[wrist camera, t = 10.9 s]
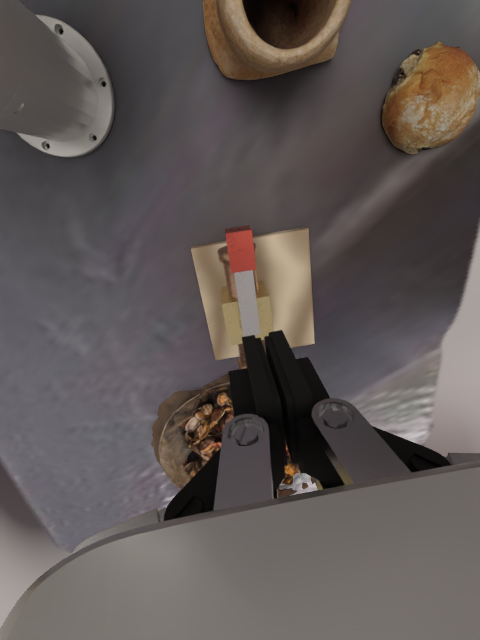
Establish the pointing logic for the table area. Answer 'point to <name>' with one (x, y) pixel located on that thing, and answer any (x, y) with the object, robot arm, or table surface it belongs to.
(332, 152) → the table surface
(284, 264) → the beige board
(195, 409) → the food dish
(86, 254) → the table surface
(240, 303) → the valve lever
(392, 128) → the bread roll
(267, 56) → the stone cup
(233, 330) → the valve pipe
